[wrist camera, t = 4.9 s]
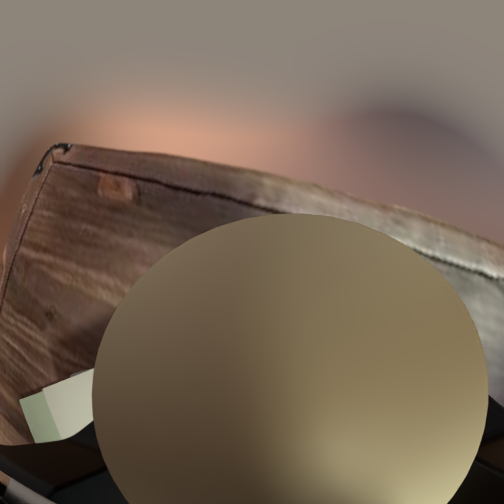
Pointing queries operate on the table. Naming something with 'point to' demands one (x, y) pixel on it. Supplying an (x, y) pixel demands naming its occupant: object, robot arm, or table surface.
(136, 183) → the table surface
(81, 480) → the robot arm
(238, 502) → the birch roller
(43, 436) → the pad
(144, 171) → the table surface
